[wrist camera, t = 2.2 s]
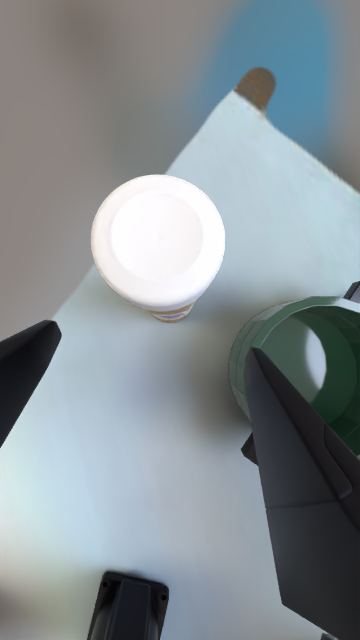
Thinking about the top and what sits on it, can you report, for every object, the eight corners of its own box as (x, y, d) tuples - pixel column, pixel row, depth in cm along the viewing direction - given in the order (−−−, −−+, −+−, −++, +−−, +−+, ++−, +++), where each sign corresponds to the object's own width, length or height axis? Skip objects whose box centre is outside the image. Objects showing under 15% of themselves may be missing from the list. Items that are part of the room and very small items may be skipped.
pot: (311, 464, 19) (354, 507, 14) (202, 384, 19) (210, 401, 14) (382, 354, 19) (445, 361, 15) (276, 278, 20) (306, 263, 15)
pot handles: (279, 478, 15) (284, 486, 15) (240, 449, 15) (243, 455, 15) (390, 308, 16) (400, 307, 16) (352, 282, 16) (361, 280, 16)
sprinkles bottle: (158, 329, 19) (115, 328, 6) (142, 289, 19) (64, 195, 6) (199, 313, 19) (251, 274, 6) (183, 273, 19) (197, 147, 6)
